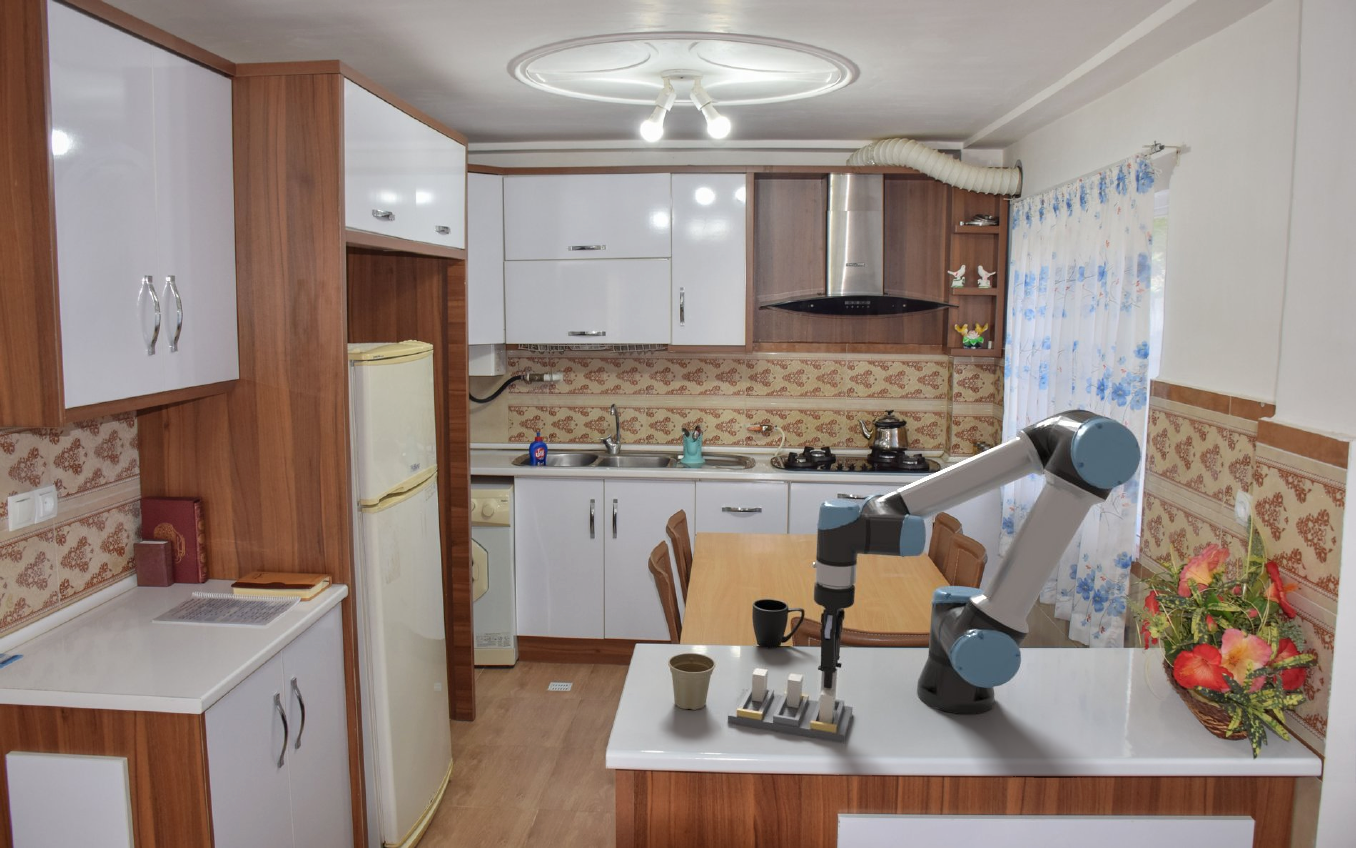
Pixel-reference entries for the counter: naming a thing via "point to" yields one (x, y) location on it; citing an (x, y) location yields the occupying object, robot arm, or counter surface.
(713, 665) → the flower pot
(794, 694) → the tab
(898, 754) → the counter surface
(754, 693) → the tab
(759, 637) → the mug
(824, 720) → the tab
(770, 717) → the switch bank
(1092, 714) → the counter surface
